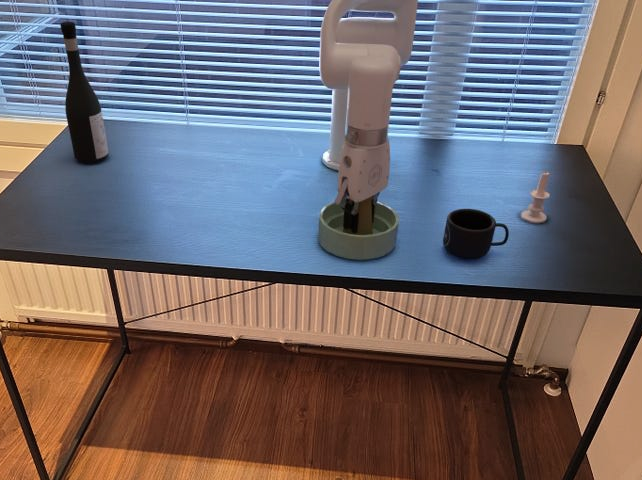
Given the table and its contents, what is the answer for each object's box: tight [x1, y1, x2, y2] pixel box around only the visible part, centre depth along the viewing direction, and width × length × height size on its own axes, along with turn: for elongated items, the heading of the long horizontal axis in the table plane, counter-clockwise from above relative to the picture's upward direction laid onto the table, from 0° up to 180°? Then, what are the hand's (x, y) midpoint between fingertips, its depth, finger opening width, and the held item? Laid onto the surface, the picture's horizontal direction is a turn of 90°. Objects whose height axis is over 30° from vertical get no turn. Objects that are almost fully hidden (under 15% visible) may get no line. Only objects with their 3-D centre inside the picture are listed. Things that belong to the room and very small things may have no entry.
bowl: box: [317, 201, 400, 261], centre depth 129 cm, size 15×15×6 cm
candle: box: [520, 171, 550, 225], centre depth 136 cm, size 5×5×10 cm
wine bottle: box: [60, 21, 109, 165], centre depth 150 cm, size 8×8×30 cm
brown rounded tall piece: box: [343, 195, 375, 235], centre depth 127 cm, size 6×6×11 cm
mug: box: [442, 208, 510, 261], centre depth 126 cm, size 12×9×7 cm
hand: (358, 225), depth 129 cm, fingers closed on brown rounded tall piece, 4 cm apart
